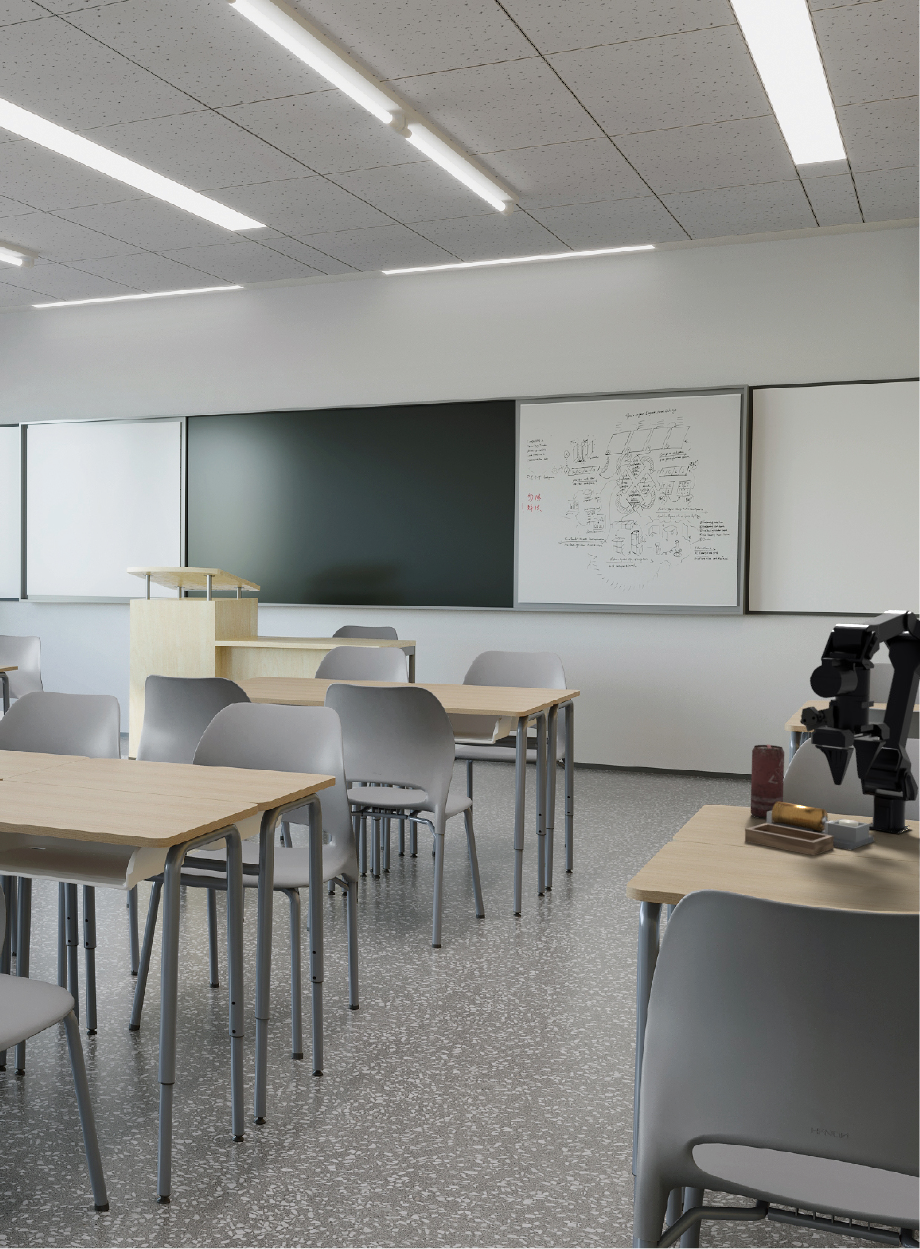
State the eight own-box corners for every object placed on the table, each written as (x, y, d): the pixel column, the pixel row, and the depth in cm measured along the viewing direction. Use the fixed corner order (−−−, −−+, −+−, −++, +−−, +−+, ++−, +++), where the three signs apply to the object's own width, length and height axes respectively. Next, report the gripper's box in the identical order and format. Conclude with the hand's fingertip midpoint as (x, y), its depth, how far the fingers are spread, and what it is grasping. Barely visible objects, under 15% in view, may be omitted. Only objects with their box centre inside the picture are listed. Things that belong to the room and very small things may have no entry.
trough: (765, 834, 189) (766, 823, 189) (833, 848, 180) (833, 836, 180) (745, 841, 184) (745, 829, 184) (813, 855, 175) (813, 842, 175)
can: (778, 813, 208) (780, 744, 207) (785, 820, 202) (787, 749, 201) (747, 812, 209) (749, 743, 208) (753, 819, 202) (755, 748, 202)
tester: (781, 824, 198) (782, 806, 198) (873, 841, 185) (874, 822, 185) (757, 831, 192) (757, 812, 192) (850, 850, 179) (851, 830, 179)
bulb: (843, 828, 186) (844, 818, 186) (861, 832, 184) (861, 822, 184) (835, 831, 184) (835, 821, 184) (853, 834, 182) (853, 824, 182)
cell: (782, 821, 196) (783, 800, 195) (830, 830, 189) (831, 808, 188) (771, 824, 193) (772, 803, 193) (820, 833, 186) (820, 811, 186)
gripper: (833, 688, 195) (831, 769, 196) (784, 693, 183) (781, 781, 183) (892, 693, 187) (889, 778, 188) (845, 699, 175) (842, 791, 175)
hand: (849, 781), depth 184 cm, fingers open, 9 cm apart
